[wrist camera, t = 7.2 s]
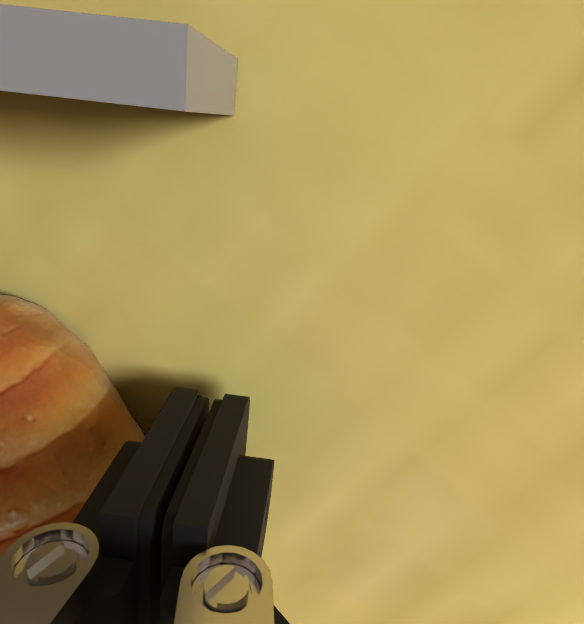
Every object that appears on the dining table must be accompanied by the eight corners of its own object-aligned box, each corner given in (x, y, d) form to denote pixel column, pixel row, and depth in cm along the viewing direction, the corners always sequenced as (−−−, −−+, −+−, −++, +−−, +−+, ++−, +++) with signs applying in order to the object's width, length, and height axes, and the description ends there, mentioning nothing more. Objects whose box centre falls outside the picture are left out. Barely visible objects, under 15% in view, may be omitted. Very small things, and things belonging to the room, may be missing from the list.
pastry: (-141, 305, 12) (-335, 379, 9) (125, 265, 11) (33, 328, 8) (-3, 598, 15) (-104, 742, 12) (215, 582, 15) (177, 732, 11)
